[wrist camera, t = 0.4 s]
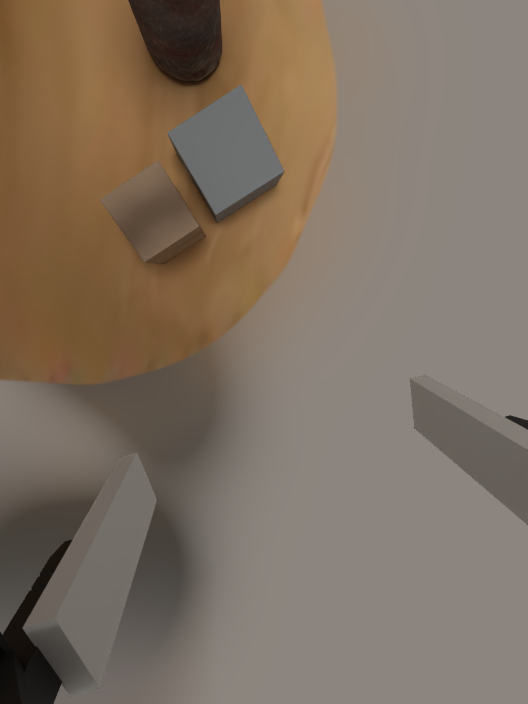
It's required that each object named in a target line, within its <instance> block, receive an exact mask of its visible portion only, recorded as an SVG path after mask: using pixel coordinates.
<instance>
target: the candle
mask: <svg viewBox="0 0 528 704" xmlns="http://www.w3.org/2000/svg"><path fill="white" fill-rule="evenodd" d="M129 3H130V6H131V8H132V11H133V14H134V16H135V19H136V21H137V24H138V26H139V29H140V31H141V34H142V36H143V39H144V41H145V44H146V46H147V49H148V51H149V53H150V55H151V57H152V58H153V60H154V61H155V63H156V64H157V66H159V67H160V68H161V69H162V70H164V71H165V72H166V73H167V74H169V75H171V76H173V77H175V78H177V79H179V80H182V81H185V80H186V81H199V80H201V79H203V78H204V77H206V76H208V74H210V73H211V72H212V71H213V70H214V69H215V68H217V66H218V64H219V61H220V57H221V53H222V35H221V13H220V0H129Z"/></svg>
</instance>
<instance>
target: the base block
mask: <svg viewBox="0 0 528 704" xmlns="http://www.w3.org/2000/svg"><path fill="white" fill-rule="evenodd" d="M168 136H169V138H170V140H171V142H172V145H173V147H174V149H175V151H176V154H177V155H178V157H179V159H180V160H181V162H182V164H183V165H184V167H185V169H186V170H187V172H188V174H189V176H190V177H191V179H192V181H193V182H194V184H195V186H196V187H197V189H198V191H199V192H200V194H201V196H202V197H203V199H204V201H205V203H206V204H207V206H208V208H209V209H210V211H211V213H212V214H213V216H214V218H215V219H216V221H217V223H218V222H219V221H221V220H222V219H224V218H225V217H227V216H229V215H230V214H232V213H233V212H235V211H236V210H238V209H240V208H241V207H243V206H244V205H246V204H247V203H249V202H251V201H252V200H254V199H255V198H257V197H258V196H260V195H262V194H263V193H265V192H266V191H268V190H269V189H271V188H273V187H274V186H276V185H277V183H278V182H279V180H280V178H281V176H282V175H283V173H284V170H283V168H282V166H281V164H280V162H279V159H278V157H277V155H276V153H275V151H274V149H273V147H272V145H271V143H270V141H269V139H268V137H267V135H266V133H265V131H264V129H263V127H262V125H261V123H260V121H259V119H258V117H257V115H256V113H255V111H254V109H253V107H252V105H251V103H250V101H249V99H248V97H247V95H246V93H245V91H244V89H243V87H242V85H240V86H238V87H236V88H235V89H233V90H232V91H230V92H229V93H227V94H226V95H224V96H223V97H221V98H220V99H218V100H217V101H215V102H214V103H212V104H211V105H209V106H207V107H206V108H204V109H203V110H201V111H200V112H198V113H197V114H195V115H194V116H192V117H191V118H189V119H188V120H186V121H185V122H183V123H182V124H180V125H178V126H177V127H175V128H174V129H172V130H171V131H169V132H168Z"/></svg>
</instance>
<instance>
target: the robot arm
mask: <svg viewBox="0 0 528 704" xmlns="http://www.w3.org/2000/svg"><path fill="white" fill-rule="evenodd" d="M410 386H411V396H412V408H413V419H414V428H415V429H416V430H417V431H418V432H419V433H420V434H422V435H423V436H424V437H425V438H426V439H428V440H429V441H430V442H431V443H432V444H433V445H435V446H436V447H437V448H438V449H439V450H440V451H442V452H443V453H444V454H445V455H446V456H447V457H449V458H450V459H451V460H452V461H453V462H454V463H456V464H457V465H458V466H459V467H460V468H462V469H463V470H464V471H465V472H466V473H467V474H468V475H470V476H471V477H472V478H473V479H474V480H475V481H477V482H478V483H479V484H480V485H481V486H483V487H484V488H485V489H486V490H487V491H489V492H490V493H491V494H492V495H493V496H494V497H495V498H497V499H498V500H499V501H500V502H501V503H503V504H504V505H505V506H506V507H507V508H508V509H509V510H511V511H512V512H513V513H514V514H515V515H516V516H518V517H519V518H520V519H521V520H522V521H524V522H525V523H526V524H527V525H528V420H524V419H521V418H517V417H514V416H506V417H503V416H501V415H499V414H497V413H496V412H494V411H492V410H490V409H488V408H486V407H484V406H483V405H481V404H479V403H477V402H475V401H473V400H471V399H470V398H468V397H466V396H464V395H462V394H460V393H458V392H457V391H455V390H453V389H451V388H449V387H447V386H445V385H443V384H442V383H440V382H438V381H436V380H434V379H432V378H430V377H428V376H427V375H422V376H418V377H414V378H411V379H410ZM156 501H157V499H156V497H155V494H154V492H153V489H152V487H151V485H150V482H149V480H148V477H147V475H146V473H145V470H144V468H143V466H142V463H141V461H140V459H139V456H138V454H137V452H136V453H133V454H129V455H125V456H121V457H120V458H119V460H118V461H117V463H116V465H115V467H114V468H113V470H112V472H111V474H110V476H109V477H108V479H107V481H106V482H105V484H104V486H103V488H102V490H101V491H100V493H99V495H98V497H97V498H96V500H95V502H94V503H93V505H92V507H91V509H90V511H89V512H88V514H87V516H86V518H85V519H84V521H83V523H82V525H81V526H80V528H79V530H78V532H77V533H76V535H75V537H74V539H73V540H69V541H65V542H64V543H63V544H62V545H61V546H60V547H59V548H58V550H56V551H55V553H54V554H53V555H52V556H51V557H50V558H49V560H48V562H47V563H46V565H45V567H44V568H43V570H42V571H41V573H40V577H38V578H37V579H36V581H35V583H34V584H33V586H32V590H31V591H29V593H28V594H27V596H26V597H25V599H24V601H23V602H22V604H21V605H20V607H19V609H18V610H17V612H16V614H15V615H14V617H13V619H12V620H11V622H10V623H9V625H8V627H7V628H6V630H5V632H4V633H3V635H2V634H1V632H0V704H53V703H54V701H55V698H56V696H57V693H58V691H59V688H60V686H61V684H62V685H63V687H64V688H65V689H66V691H67V692H68V693H69V695H70V696H71V697H72V696H75V695H79V694H82V693H85V692H88V691H92V690H95V689H98V688H100V686H101V682H102V679H103V676H104V672H105V669H106V666H107V663H108V659H109V656H110V653H111V649H112V646H113V643H114V639H115V636H116V633H117V629H118V626H119V623H120V620H121V617H122V613H123V610H124V607H125V603H126V600H127V597H128V593H129V590H130V587H131V584H132V580H133V577H134V574H135V570H136V567H137V564H138V561H139V557H140V554H141V551H142V548H143V544H144V541H145V538H146V534H147V531H148V528H149V525H150V521H151V518H152V515H153V511H154V508H155V505H156Z"/></svg>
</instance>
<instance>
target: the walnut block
mask: <svg viewBox="0 0 528 704" xmlns="http://www.w3.org/2000/svg"><path fill="white" fill-rule="evenodd" d="M100 201H101V202H102V204H103V205H104V206H105V208H106V209H107V211H108V212H109V213H110V215H111V216H112V218H113V219H114V221H115V222H116V223H117V225H118V226H119V228H120V229H121V230H122V232H123V233H124V235H125V236H126V237H127V239H128V240H129V242H130V243H131V244H132V246H133V247H134V249H135V250H136V251H137V253H138V254H139V256H140V257H141V258H142V260H143V261H144V262H145V263H155V264H164V263H166V262H167V261H169V260H170V259H172V258H173V257H175V256H176V255H178V254H180V253H181V252H183V251H184V250H186V249H187V248H189V247H190V246H192V245H193V244H195V243H196V242H198V241H199V240H201V239H202V238H204V237H206V236H205V234H204V232H203V231H202V229H201V228H200V226H199V224H198V223H197V221H196V220H195V218H194V216H193V215H192V213H191V212H190V210H189V208H188V207H187V205H186V204H185V202H184V200H183V199H182V197H181V196H180V194H179V192H178V191H177V189H176V188H175V186H174V185H173V183H172V181H171V180H170V178H169V177H168V175H167V174H166V172H165V170H164V169H163V167H162V166H161V164H160V162H159V161H156V162H155V163H153V164H152V165H150V166H149V167H147V168H146V169H144V170H143V171H141V172H140V173H139V174H137V175H136V176H134V177H133V178H131V179H130V180H128V181H127V182H125V183H124V184H122V185H121V186H119V187H118V188H116V189H115V190H113V191H112V192H110V193H109V194H107V195H106V196H104V197H103V198H101V199H100Z"/></svg>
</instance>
